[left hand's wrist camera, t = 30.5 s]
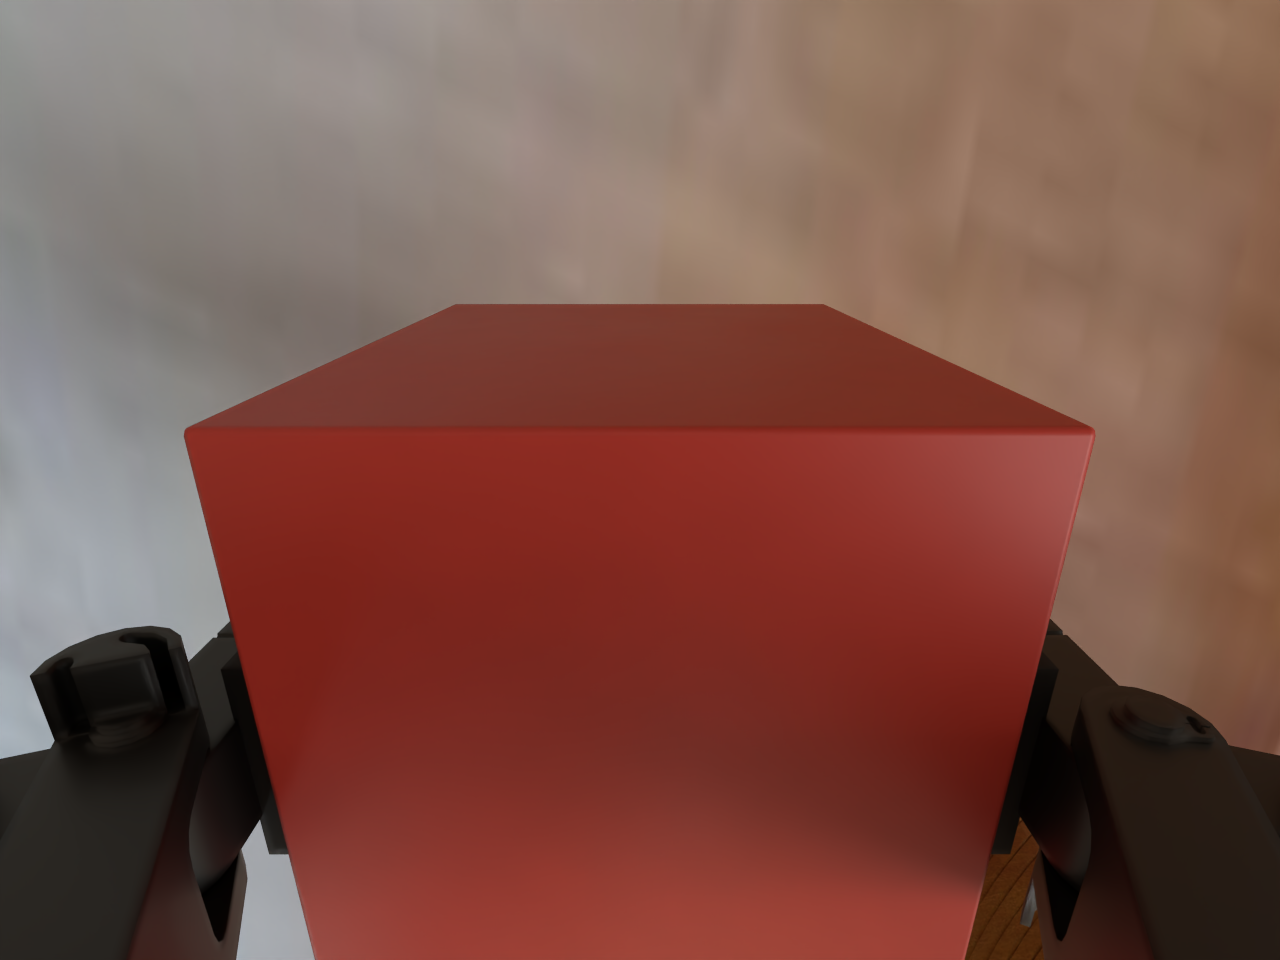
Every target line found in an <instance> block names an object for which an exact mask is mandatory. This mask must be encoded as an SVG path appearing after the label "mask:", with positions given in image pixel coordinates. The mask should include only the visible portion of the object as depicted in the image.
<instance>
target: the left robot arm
mask: <svg viewBox="0 0 1280 960" xmlns="http://www.w3.org/2000/svg"><path fill="white" fill-rule="evenodd" d="M30 678H31V680H32V683H33V686H34V688H35V691H36V693H37V696H38V699H39V701H40V704H41V706H42V709H43V712H44V714H45V717H46V719H47V722H48V725H49V727H50V730H51V732H52V735H53V737H54V740H55V741H54V743H53V745H52V747H51V749H47V750H42V751H37V752H32V753H27V754H22V755H18V756H13V757H8V758H3V759H0V960H236V956H237V949H238V942H239V935H240V928H241V921H242V914H243V907H244V900H245V893H246V886H247V872H246V865H245V861H244V857H243V854H242V850H241V848H242V847H243V845H244V844H245V842H246V841H247V839H248V837H249V836H250V834H251V833H252V831H253V829H254V828H255V826H256V825H257V823H258V822H259V820H260V821H261V825H262V829H263V832H264V836H265V840H266V844H267V848H268V851H269V854H288V850H287V846H286V842H285V838H284V834H283V830H282V826H281V822H280V818H279V814H278V810H277V806H276V802H275V798H274V794H273V790H272V786H271V782H270V778H269V774H268V770H267V766H266V762H265V758H264V754H263V750H262V746H261V742H260V738H259V734H258V730H257V726H256V722H255V718H254V714H253V710H252V706H251V702H250V698H249V694H248V690H247V686H246V682H245V678H244V674H243V670H242V666H241V662H240V658H239V654H238V650H237V646H236V642H235V638H234V634H233V630H232V626H231V622H229V623H228V624H227V625H226V626H225V627H224V628H223V629H222V630H221V631H220V632H219V633H218V636H217V638H212V639H211V640H210V641H209V642H208V643H207V644H206V645H205V646H204V647H203V648H202V649H201V650H200V651H199V652H198V653H197V654H196V655H195V656H194V657H193V658H192V659H191V660H190V661H189V662H188V659H187V656H186V652H185V649H184V645H183V642H182V638H181V635H179V634H178V633H176V632H175V631H173V630H172V629H170V628H163V627H156V626H144V627H134V628H125V629H121V630H117V631H113V632H109V633H105V634H101V635H97V636H94V637H92V638H89V639H87V640H85V641H82V642H80V643H77V644H75V645H72V646H70V647H68V648H66V649H64V650H63V651H61V652H59V653H58V654H56V655H54V656H53V657H51V658H49V659H48V660H46V661H45V662H44V663H43V664H42V665H40V666H39V667H38V668H37V669H36V670H35V671H34V672H33V673H32V674H31V675H30ZM1020 817H1021V819H1022V820H1023V822H1024V823H1025V825H1026V827H1027V828H1028V830H1029V831H1030V833H1031V834H1032V836H1033V838H1034V839H1035V841H1036V842H1037V844H1038V845H1039V850H1038V854H1037V857H1036V861H1035V864H1034V868H1033V871H1032V875H1031V878H1030V882H1029V885H1028V889H1027V892H1026V896H1025V899H1024V903H1023V907H1022V912H1021V918H1020V924H1021V925H1025V926H1028V927H1030V926H1031V923H1032V919H1033V916H1034V912H1035V911H1036V910H1037V912H1038V919H1039V926H1040V933H1041V940H1042V947H1043V954H1044V960H1280V756H1279V755H1274V754H1269V753H1264V752H1259V751H1254V750H1249V749H1244V748H1239V747H1234V746H1230V745H1228V744H1227V742H1226V740H1225V739H1224V738H1223V736H1222V735H1221V734H1220V733H1219V732H1218V731H1217V729H1216V728H1215V727H1214V726H1213V725H1212V724H1211V723H1210V722H1209V721H1207V720H1206V719H1204V718H1203V717H1202V716H1200V715H1199V714H1197V713H1196V712H1194V711H1193V710H1192V709H1190V708H1188V707H1186V706H1184V705H1182V704H1180V703H1178V702H1176V701H1173V700H1171V699H1169V698H1167V697H1165V696H1163V695H1159V694H1156V693H1153V692H1149V691H1146V690H1142V689H1139V688H1135V687H1126V686H1119V685H1118V684H1117V683H1116V682H1115V681H1114V680H1112V679H1111V678H1110V677H1109V676H1108V675H1107V674H1106V673H1105V672H1104V671H1103V670H1102V669H1101V668H1100V667H1099V666H1098V665H1097V664H1096V663H1095V662H1094V661H1093V660H1092V659H1091V658H1090V657H1089V656H1088V655H1087V654H1086V653H1085V652H1084V651H1083V650H1082V649H1081V648H1080V647H1079V646H1078V645H1077V644H1075V643H1074V642H1073V641H1072V640H1071V639H1070V638H1069V637H1068V636H1067V635H1063V633H1062V630H1061V629H1060V628H1059V627H1058V626H1057V625H1056V624H1055V623H1054V622H1053V621H1052V620H1051V619H1050V620H1049V624H1048V628H1047V632H1046V636H1045V640H1044V644H1043V648H1042V652H1041V656H1040V660H1039V664H1038V668H1037V672H1036V676H1035V680H1034V684H1033V688H1032V692H1031V696H1030V700H1029V704H1028V708H1027V712H1026V716H1025V720H1024V724H1023V728H1022V732H1021V736H1020V740H1019V744H1018V748H1017V752H1016V756H1015V760H1014V764H1013V768H1012V772H1011V776H1010V780H1009V784H1008V788H1007V792H1006V796H1005V800H1004V804H1003V808H1002V812H1001V816H1000V820H999V824H998V828H997V832H996V836H995V840H994V844H993V848H992V852H991V854H1010V853H1011V849H1012V845H1013V842H1014V838H1015V834H1016V830H1017V827H1018V823H1019V819H1020Z"/></svg>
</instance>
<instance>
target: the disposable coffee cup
mask: <svg viewBox="0 0 1280 960" xmlns="http://www.w3.org/2000/svg"><path fill="white" fill-rule="evenodd" d="M1038 850H1039V845H1038V844H1037V842H1036V841H1035V839H1034V838H1033V836H1032V834H1031V833H1030V831H1029V830H1028V828H1027V827H1026V825H1025V823H1024V822H1023V820H1022V819H1021V817H1020V819H1019V823H1018V827H1017V830H1016V834H1015V838H1014V842H1013V845H1012V849H1011V853H1010V854H991V856H990V860H989V864H988V868H987V872H986V876H985V880H984V884H983V888H982V892H981V896H980V899H979V903H978V907H977V911H976V915H975V919H974V923H973V927H972V931H971V935H970V939H969V943H968V947H967V951H966V955H965V959H964V960H1044V954H1043V947H1042V940H1041V933H1040V926H1039V919H1038V912H1037V910H1036V911H1035V912H1034V916H1033V919H1032V923H1031V926H1030V927H1028V926H1025V925H1021V924H1020V918H1021V912H1022V907H1023V903H1024V899H1025V896H1026V892H1027V889H1028V885H1029V882H1030V878H1031V875H1032V871H1033V868H1034V864H1035V861H1036V857H1037V854H1038Z"/></svg>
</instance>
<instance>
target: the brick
mask: <svg viewBox="0 0 1280 960" xmlns="http://www.w3.org/2000/svg"><path fill="white" fill-rule="evenodd" d="M184 439H185V443H186V447H187V451H188V455H189V459H190V463H191V467H192V470H193V474H194V478H195V482H196V486H197V490H198V494H199V498H200V502H201V506H202V510H203V514H204V518H205V522H206V526H207V530H208V534H209V538H210V542H211V546H212V550H213V554H214V558H215V562H216V566H217V570H218V574H219V578H220V582H221V586H222V590H223V594H224V598H225V602H226V606H227V610H228V614H229V618H230V622H231V626H232V630H233V634H234V638H235V642H236V646H237V650H238V654H239V658H240V662H241V666H242V670H243V674H244V678H245V682H246V686H247V690H248V694H249V698H250V702H251V706H252V710H253V714H254V718H255V722H256V726H257V730H258V734H259V738H260V742H261V746H262V750H263V754H264V758H265V762H266V766H267V770H268V774H269V778H270V782H271V786H272V790H273V794H274V798H275V802H276V806H277V810H278V814H279V818H280V822H281V826H282V830H283V834H284V838H285V842H286V846H287V850H288V854H289V858H290V862H291V866H292V870H293V874H294V878H295V882H296V886H297V890H298V894H299V898H300V901H301V905H302V909H303V913H304V917H305V921H306V925H307V929H308V933H309V937H310V941H311V945H312V949H313V953H314V957H315V960H964V959H965V955H966V951H967V947H968V943H969V939H970V935H971V931H972V927H973V923H974V919H975V915H976V911H977V907H978V903H979V899H980V896H981V892H982V888H983V884H984V880H985V876H986V872H987V868H988V864H989V860H990V856H991V852H992V848H993V844H994V840H995V836H996V832H997V828H998V824H999V820H1000V816H1001V812H1002V808H1003V804H1004V800H1005V796H1006V792H1007V788H1008V784H1009V780H1010V776H1011V772H1012V768H1013V764H1014V760H1015V756H1016V752H1017V748H1018V744H1019V740H1020V736H1021V732H1022V728H1023V724H1024V720H1025V716H1026V712H1027V708H1028V704H1029V700H1030V696H1031V692H1032V688H1033V684H1034V680H1035V676H1036V672H1037V668H1038V664H1039V660H1040V656H1041V652H1042V648H1043V644H1044V640H1045V636H1046V632H1047V628H1048V624H1049V620H1050V616H1051V612H1052V608H1053V604H1054V600H1055V596H1056V592H1057V588H1058V584H1059V580H1060V576H1061V572H1062V568H1063V564H1064V560H1065V556H1066V552H1067V548H1068V544H1069V540H1070V536H1071V532H1072V528H1073V524H1074V520H1075V516H1076V512H1077V508H1078V504H1079V500H1080V496H1081V492H1082V488H1083V484H1084V480H1085V476H1086V472H1087V468H1088V464H1089V460H1090V456H1091V452H1092V448H1093V444H1094V440H1095V430H1094V429H1093V428H1092V427H1090V426H1088V425H1085V424H1083V423H1081V422H1079V421H1077V420H1075V419H1072V418H1070V417H1068V416H1066V415H1064V414H1061V413H1059V412H1057V411H1055V410H1053V409H1051V408H1048V407H1046V406H1044V405H1042V404H1040V403H1038V402H1035V401H1033V400H1031V399H1029V398H1027V397H1024V396H1022V395H1020V394H1018V393H1016V392H1014V391H1011V390H1009V389H1007V388H1005V387H1003V386H1000V385H998V384H996V383H994V382H992V381H990V380H987V379H985V378H983V377H981V376H979V375H977V374H974V373H972V372H970V371H968V370H966V369H963V368H961V367H959V366H957V365H955V364H953V363H950V362H948V361H946V360H944V359H942V358H939V357H937V356H935V355H933V354H931V353H929V352H926V351H924V350H922V349H920V348H918V347H916V346H913V345H911V344H909V343H907V342H905V341H902V340H900V339H898V338H896V337H894V336H892V335H889V334H887V333H885V332H883V331H881V330H878V329H876V328H874V327H872V326H870V325H868V324H865V323H863V322H861V321H859V320H857V319H855V318H852V317H850V316H848V315H846V314H844V313H841V312H839V311H837V310H835V309H833V308H831V307H828V306H826V305H824V304H455V305H453V306H451V307H449V308H447V309H444V310H442V311H440V312H438V313H436V314H433V315H431V316H429V317H427V318H425V319H423V320H420V321H418V322H416V323H414V324H412V325H410V326H407V327H405V328H403V329H401V330H399V331H397V332H394V333H392V334H390V335H388V336H386V337H383V338H381V339H379V340H377V341H375V342H373V343H370V344H368V345H366V346H364V347H362V348H360V349H357V350H355V351H353V352H351V353H349V354H347V355H344V356H342V357H340V358H338V359H336V360H333V361H331V362H329V363H327V364H325V365H323V366H320V367H318V368H316V369H314V370H312V371H310V372H307V373H305V374H303V375H301V376H299V377H297V378H294V379H292V380H290V381H288V382H286V383H283V384H281V385H279V386H277V387H275V388H273V389H270V390H268V391H266V392H264V393H262V394H260V395H257V396H255V397H253V398H251V399H249V400H247V401H244V402H242V403H240V404H238V405H236V406H233V407H231V408H229V409H227V410H225V411H223V412H220V413H218V414H216V415H214V416H212V417H210V418H207V419H205V420H203V421H201V422H199V423H196V424H194V425H192V426H190V427H188V428H186V430H185V432H184Z"/></svg>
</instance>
